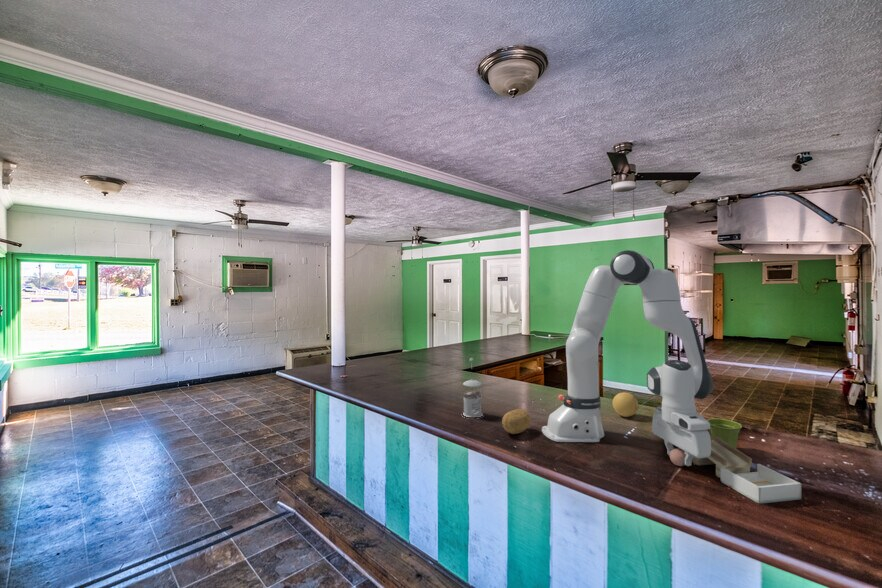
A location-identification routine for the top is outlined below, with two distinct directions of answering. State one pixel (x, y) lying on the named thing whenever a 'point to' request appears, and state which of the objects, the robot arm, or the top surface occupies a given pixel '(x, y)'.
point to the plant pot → (725, 430)
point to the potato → (516, 421)
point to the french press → (472, 399)
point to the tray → (763, 485)
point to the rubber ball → (677, 456)
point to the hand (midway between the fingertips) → (679, 460)
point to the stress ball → (625, 404)
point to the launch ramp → (725, 458)
